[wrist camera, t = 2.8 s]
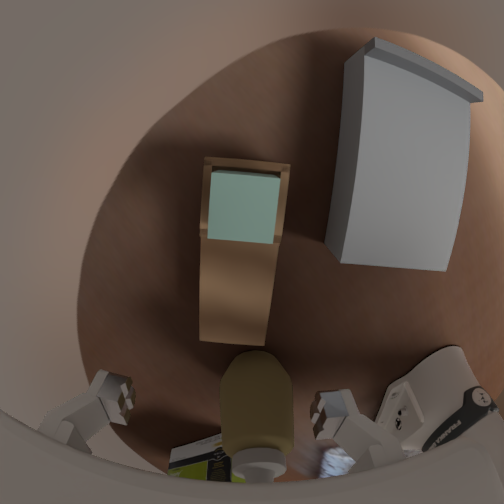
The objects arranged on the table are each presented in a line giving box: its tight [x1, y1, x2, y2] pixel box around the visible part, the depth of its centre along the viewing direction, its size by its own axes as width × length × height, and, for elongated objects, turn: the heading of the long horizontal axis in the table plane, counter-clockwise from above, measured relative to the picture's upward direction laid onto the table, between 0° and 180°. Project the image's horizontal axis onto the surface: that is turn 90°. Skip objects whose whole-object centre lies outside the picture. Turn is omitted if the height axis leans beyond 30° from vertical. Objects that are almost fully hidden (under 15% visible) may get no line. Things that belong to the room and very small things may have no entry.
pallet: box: [199, 157, 291, 346], centre depth 23 cm, size 16×6×5 cm, turn 174°
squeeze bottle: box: [219, 350, 294, 483], centre depth 22 cm, size 8×8×18 cm
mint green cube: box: [207, 170, 280, 244], centre depth 18 cm, size 4×4×4 cm
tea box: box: [167, 433, 246, 483], centre depth 31 cm, size 15×10×15 cm, turn 128°
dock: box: [324, 37, 483, 271], centre depth 19 cm, size 18×12×7 cm, turn 174°
